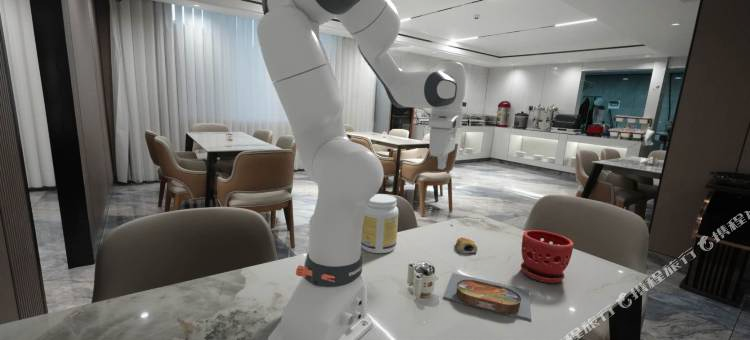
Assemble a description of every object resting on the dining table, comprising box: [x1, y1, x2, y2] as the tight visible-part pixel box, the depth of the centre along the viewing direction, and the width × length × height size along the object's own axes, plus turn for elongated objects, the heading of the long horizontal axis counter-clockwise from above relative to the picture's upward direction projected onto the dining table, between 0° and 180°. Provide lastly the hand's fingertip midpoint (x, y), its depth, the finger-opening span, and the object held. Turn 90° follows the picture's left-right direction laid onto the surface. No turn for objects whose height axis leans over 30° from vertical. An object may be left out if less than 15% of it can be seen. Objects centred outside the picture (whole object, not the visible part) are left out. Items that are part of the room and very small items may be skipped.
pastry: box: [455, 237, 478, 254], centre depth 117 cm, size 9×7×4 cm
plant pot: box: [520, 229, 575, 284], centre depth 100 cm, size 13×13×12 cm
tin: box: [456, 280, 521, 315], centre depth 84 cm, size 15×3×8 cm
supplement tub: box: [361, 193, 400, 254], centre depth 113 cm, size 12×12×17 cm
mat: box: [443, 272, 532, 322], centre depth 88 cm, size 14×20×1 cm
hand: (441, 168), depth 100 cm, fingers closed
